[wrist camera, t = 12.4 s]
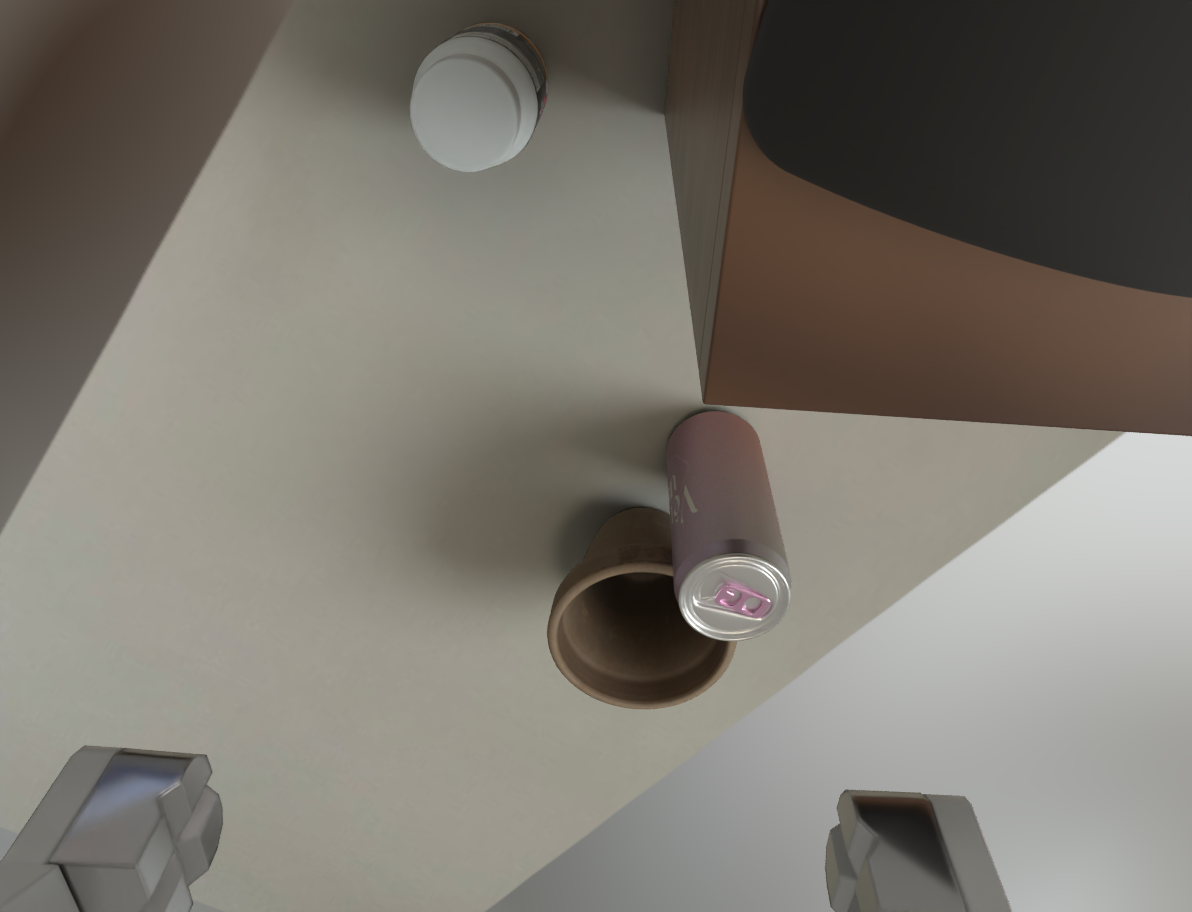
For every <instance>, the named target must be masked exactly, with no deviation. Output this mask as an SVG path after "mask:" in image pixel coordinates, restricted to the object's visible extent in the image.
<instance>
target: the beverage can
mask: <svg viewBox="0 0 1192 912" xmlns="http://www.w3.org/2000/svg"><path fill="white" fill-rule="evenodd" d="M667 470H668V488H669V506H670V525H671V543H672V561H673V579H674V592H675V596H676V599H677V602H678V604H679V608H680V611H681V613H682V615H683V617H684V619H685V620H686V622H687V623H688V624H689V625H690V626H691V627H692V628H693V629H695V630H696V631H698V632H699V633H701V634H703V635H705V636H707V637H710V638H713V639H717V640H723V641H741V640H747V639H751V638H755V637H757V636H760V635H762V634H764V633H766V632H768V631H769V630H771V629H772V628H774V627H775V626H776V625H777V624H778V623H779V622H780V621H781V620H782V618H783V617H784V616H785V614H786V612H787V610H788V607H789V604H790V596H791V594H790V589H791V575H790V570H789V566H788V561H787V557H786V553H785V548H784V544H783V540H782V535H781V531H780V527H779V522H778V518H777V514H776V509H775V505H774V501H773V496H772V492H771V488H770V483H769V479H768V475H767V471H766V466H765V462H764V458H763V453H762V449H761V445H760V441H759V438H758V435H757V433H756V431H755V430H754V429H753V427H752V426H751V425H750V424H749V423H748V422H747V421H745V420H744V419H742V418H740V417H739V416H736V415H734V414H731V413H727V412H721V411H709V412H704V413H700V414H697V415H695V416H692V417H690V418H689V419H687V420H685V421H684V422H683V423H681V424H680V425H679V426H678V427H677V428H676V429H675V431H674V432H673V434H672V435H671V437H670V439H669V442H668V446H667Z"/></svg>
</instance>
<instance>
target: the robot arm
mask: <svg viewBox="0 0 1192 912" xmlns="http://www.w3.org/2000/svg"><path fill="white" fill-rule="evenodd" d="M211 774H212V769H211V766H210V763H209V760H208V757H207V755H203V754H191V753H179V752H166V751H154V750H142V749H130V748H118V747H102V746H86V745H85V746H83V747H82V748H81V749H80V750H78V751H77V752H76V753H75V754H73V755H72V756H71V757H70V759H69V760H68V762H67V763H66V765H65V766H64V768H63V769H62V771H61V772H60V774H59V775H58V777H57V778H56V780H55V781H54V783H53V784H52V786H51V787H50V789H49V790H48V792H47V793H46V795H45V796H44V798H43V799H42V801H41V802H40V804H39V805H38V807H37V808H36V810H35V811H34V813H33V814H32V816H31V817H30V819H29V820H28V822H27V823H26V825H25V826H24V828H23V829H22V831H21V832H20V834H19V835H18V837H17V838H16V840H15V841H14V843H13V844H12V846H11V847H10V849H9V850H8V852H7V853H6V855H5V856H4V858H3V859H2V861H0V912H190V910H191V908H192V906H193V901H192V897H191V893H190V890H189V885H191V884H192V883H193V882H194V881H196V880H197V879H198V878H199V877H200V876H202V875H203V874H204V873H205V872H207V871H208V870H209V867H210V865H211V863H212V860H213V858H214V855H215V853H216V851H217V848H218V844H219V839H220V834H221V830H222V825H223V815H222V804H221V800H220V796H219V794H218V793H216V792H215V791H214V790H213V789H211V788H210V787H209V786H208V785H206V784H207V782H208V780H209V778H210V776H211ZM837 811H838V816H839V821H840V824H838V825H837V826H835V827H834V828H832V829H831V830H830V833H829V837H828V842H827V846H826V863H825V864H826V865H825V871H826V881H827V889H828V894H829V900H830V906H831V908H832V909H833V910H834V911H835V912H1012V909H1011V907H1010V904H1009V901H1008V899H1007V896H1006V894H1005V891H1004V888H1003V886H1002V883H1001V880H1000V878H999V875H998V873H997V870H996V867H995V865H994V862H993V859H992V857H991V854H990V851H989V849H988V846H987V844H986V841H985V838H984V836H983V833H982V831H981V828H980V825H979V823H978V820H977V817H976V815H975V812H974V810H973V807H972V804H971V803H970V802H969V801H968V800H967V799H966V798H965V797H964V796H952V795H931V794H921V793H910V792H889V791H865V790H845V791H844V792H843V793H842V794H841V795H840V798H839V802H838V805H837Z"/></svg>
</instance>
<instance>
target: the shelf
mask: <svg viewBox="0 0 1192 912" xmlns="http://www.w3.org/2000/svg"><path fill="white" fill-rule="evenodd" d="M767 1H768V0H675V1H674V12H673V24H672V35H671V46H670V57H669V69H668V80H667V91H666V102H665V113H664V115H665V123H666V130H667V138H668V145H669V152H670V160H671V167H672V175H673V182H674V190H675V197H676V205H677V212H678V220H679V227H680V234H681V242H682V249H683V257H684V264H685V272H686V279H687V287H688V294H689V302H690V309H691V317H692V324H693V331H694V339H695V346H696V354H697V361H698V368H699V377H700V385H701V392H702V400H703V403H704V404H710V405H725V406H740V407H756V408H771V409H786V410H802V411H817V412H832V413H848V414H863V415H878V416H893V417H909V418H924V419H939V420H955V421H970V422H985V423H1001V424H1016V425H1031V426H1047V427H1062V428H1077V429H1093V430H1108V431H1123V432H1139V433H1154V434H1169V435H1185V436H1192V298H1189V297H1182V296H1174V295H1167V294H1161V293H1155V292H1149V291H1144V290H1139V289H1134V288H1129V287H1124V286H1120V285H1115V284H1111V283H1106V282H1102V281H1098V280H1094V279H1090V278H1086V277H1082V276H1078V275H1074V274H1070V273H1066V272H1062V271H1058V270H1055V269H1051V268H1048V267H1044V266H1040V265H1037V264H1033V263H1029V262H1026V261H1023V260H1019V259H1016V258H1013V257H1009V256H1006V255H1003V254H999V253H996V252H993V251H990V250H987V249H984V248H981V247H977V246H974V245H971V244H968V243H965V242H962V241H959V240H956V239H953V238H950V237H947V236H944V235H942V234H939V233H936V232H933V231H930V230H927V229H924V228H922V227H919V226H916V225H913V224H911V223H908V222H905V221H902V220H900V219H897V218H895V217H892V216H889V215H887V214H884V213H882V212H879V211H876V210H874V209H871V208H869V207H866V206H864V205H861V204H859V203H856V202H854V201H852V200H849V199H847V198H844V197H842V196H839V195H837V194H835V193H832V192H830V191H828V190H826V189H823V188H821V187H819V186H817V185H814V184H812V183H810V182H808V181H805V180H803V179H801V178H799V177H797V176H795V175H792V174H790V173H788V172H786V171H784V170H783V169H781V168H780V167H778V166H777V165H775V164H774V163H773V162H772V161H770V160H769V159H768V158H767V157H766V155H765V154H764V153H763V152H762V151H761V149H760V148H759V147H758V145H757V143H756V142H755V140H754V138H753V136H752V134H751V132H750V130H749V127H748V125H747V122H746V118H745V114H744V108H743V84H744V78H745V73H746V70H747V67H748V63H749V60H750V57H751V53H752V50H753V47H754V44H755V40H756V37H757V34H758V30H759V27H760V24H761V20H762V17H763V14H764V11H765V7H766V4H767Z"/></svg>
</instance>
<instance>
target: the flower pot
mask: <svg viewBox="0 0 1192 912" xmlns="http://www.w3.org/2000/svg"><path fill="white" fill-rule="evenodd" d="M547 637H548V645H549V649H550V653H551V655H552V658H553V660H554V662H555V664H556V666H557V667H558V669H559V670H560V671H561V673H562V674H563V675H564V676H565V677H566V678H567V679H568V680H569V681H570V682H571V683H572V684H573V685H574V686H575V687H577V688H578V689H579V690H581V691H582V692H584V693H585V694H587V695H589V696H591V697H593V698H595V699H597V700H599V701H602V702H605V703H607V704H611V705H614V706H619V707H624V708H630V709H657V708H664V707H669V706H674V705H677V704H680V703H683V702H686V701H688V700H690V699H693V698H694V697H696V696H698V695H700V694H701V693H703V692H705V691H706V690H707V689H709V688H710V687H711V686H712V685H713V684H715V683H716V682H717V680H718V679H719V678H720V677H721V676H722V675H723V673H724V672H725V671H726V669H727V667H728V665H729V664H730V662H731V660H732V657H733V655H734V652H735V648H736V643H737V641H723V640H717V639H713V638H710V637H707V636H705V635H703V634H701V633H699V632H698V631H696V630H695V629H693V628H692V627H691V626H690V625H689V624H688V623H687V622H686V620H685V619H684V617H683V615H682V613H681V611H680V608H679V604H678V602H677V599H676V596H675V592H674V579H673V561H672V543H671V525H670V515H669V514H667V513H665V512H663V511H660V510H657V509H652V508H633V509H628V510H625V511H622V512H620V513H617V514H616V515H614V516H612V517H611V518H610V519H609V520H607V521H606V522H605V523H604V524H603V526H602V527H601V528H600V530H599V531H598V533H597V535H596V536H595V538H594V540H593V541H592V543H591V545H590V547H589V549H588V551H587V553H586V555H585V557H584V559H583V561H582V562H581V563H580V564H578V565H577V566H576V567H575V568H574V569H573V570H571V571H570V573H569V574H568V575H567V576H566V577H565V579H564V580H563V581H562V583H561V584H560V586H559V588H558V590H557V592H556V594H555V597H554V601H553V605H552V609H551V614H550V617H549V622H548V629H547Z"/></svg>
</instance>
